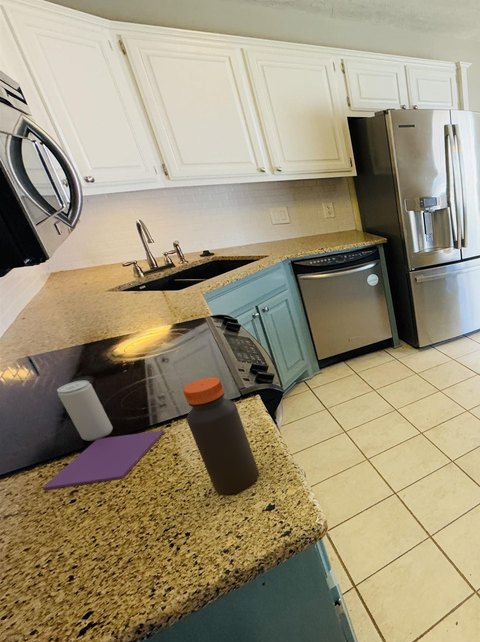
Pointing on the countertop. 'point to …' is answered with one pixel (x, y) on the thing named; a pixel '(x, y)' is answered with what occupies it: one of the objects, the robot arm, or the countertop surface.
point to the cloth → (105, 460)
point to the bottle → (220, 437)
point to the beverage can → (85, 410)
